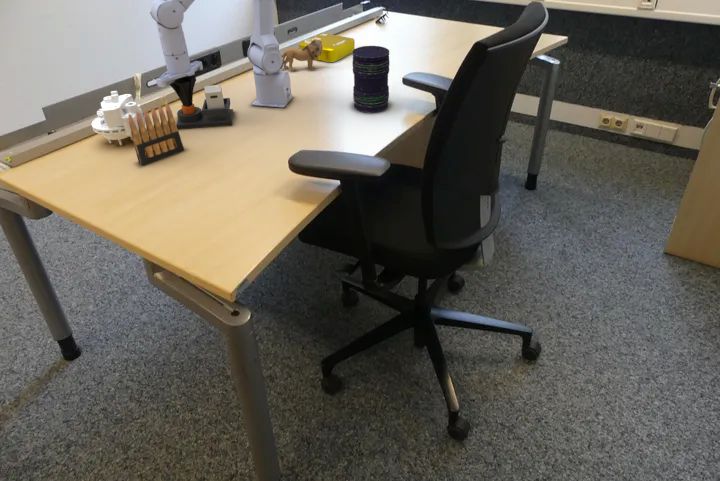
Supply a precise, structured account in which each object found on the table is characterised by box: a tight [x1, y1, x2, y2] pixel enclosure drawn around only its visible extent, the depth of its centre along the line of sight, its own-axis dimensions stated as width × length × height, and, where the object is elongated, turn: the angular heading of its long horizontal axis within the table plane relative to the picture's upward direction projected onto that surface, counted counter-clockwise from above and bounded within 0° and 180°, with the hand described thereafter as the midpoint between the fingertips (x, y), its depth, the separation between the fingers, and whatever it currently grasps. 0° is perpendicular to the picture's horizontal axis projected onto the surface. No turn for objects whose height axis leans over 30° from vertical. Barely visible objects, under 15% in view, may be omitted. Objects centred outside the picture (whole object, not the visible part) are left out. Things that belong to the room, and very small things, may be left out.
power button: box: [181, 102, 196, 114], centre depth 135 cm, size 3×3×2 cm
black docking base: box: [176, 106, 235, 130], centre depth 136 cm, size 14×8×3 cm, turn 98°
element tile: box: [298, 32, 356, 63], centre depth 178 cm, size 15×15×5 cm
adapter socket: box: [201, 97, 231, 116], centre depth 135 cm, size 7×7×2 cm
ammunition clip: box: [128, 102, 185, 166], centre depth 118 cm, size 11×2×12 cm, turn 133°
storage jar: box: [351, 45, 390, 114], centre depth 139 cm, size 10×10×15 cm
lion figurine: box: [280, 39, 323, 72], centre depth 165 cm, size 15×5×9 cm, turn 102°
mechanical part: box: [91, 90, 146, 146], centre depth 125 cm, size 11×12×12 cm
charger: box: [203, 84, 225, 109], centre depth 134 cm, size 4×5×6 cm
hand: (187, 105), depth 134 cm, fingers closed
